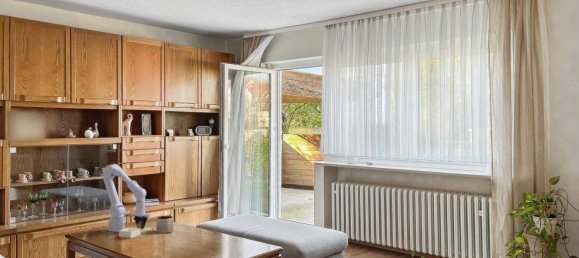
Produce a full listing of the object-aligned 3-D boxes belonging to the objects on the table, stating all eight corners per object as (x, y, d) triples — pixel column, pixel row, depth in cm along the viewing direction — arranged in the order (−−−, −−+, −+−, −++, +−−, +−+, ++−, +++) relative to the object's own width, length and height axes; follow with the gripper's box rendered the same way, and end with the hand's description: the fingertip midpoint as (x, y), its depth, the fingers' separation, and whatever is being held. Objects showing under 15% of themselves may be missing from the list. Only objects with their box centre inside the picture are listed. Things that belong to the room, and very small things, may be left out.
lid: (128, 231, 292) (128, 224, 292) (139, 227, 303) (139, 220, 303) (142, 232, 288) (142, 225, 288) (153, 229, 299) (152, 221, 299)
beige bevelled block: (119, 237, 278) (119, 230, 278) (129, 234, 286) (129, 227, 286) (130, 239, 274) (130, 231, 274) (140, 235, 283) (140, 228, 283)
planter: (170, 234, 287) (170, 219, 287) (154, 234, 287) (153, 219, 287) (175, 230, 298) (175, 215, 298) (159, 230, 298) (159, 215, 298)
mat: (127, 232, 292) (127, 231, 292) (139, 228, 303) (139, 227, 303) (142, 233, 288) (142, 233, 288) (154, 229, 299) (154, 228, 299)
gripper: (153, 206, 297) (153, 227, 297) (135, 205, 302) (136, 225, 302) (146, 208, 290) (146, 229, 290) (128, 207, 295) (128, 228, 295)
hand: (140, 227), depth 296 cm, fingers closed on lid, 3 cm apart
